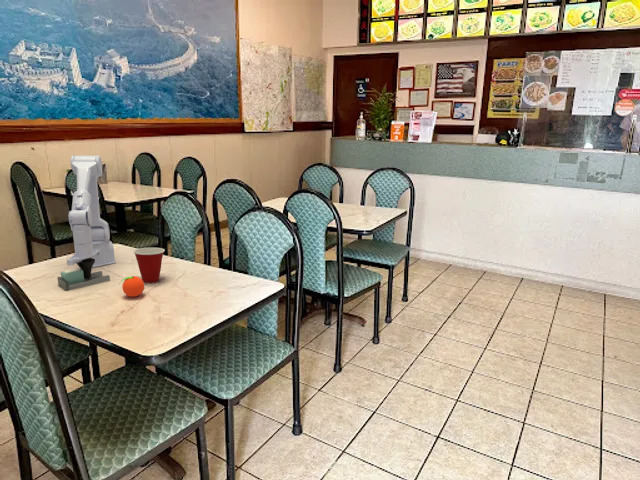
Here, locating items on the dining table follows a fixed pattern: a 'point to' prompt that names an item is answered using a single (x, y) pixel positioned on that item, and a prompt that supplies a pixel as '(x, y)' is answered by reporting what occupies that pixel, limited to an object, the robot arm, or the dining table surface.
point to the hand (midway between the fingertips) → (87, 278)
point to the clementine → (133, 286)
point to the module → (73, 275)
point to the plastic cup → (149, 263)
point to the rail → (67, 286)
